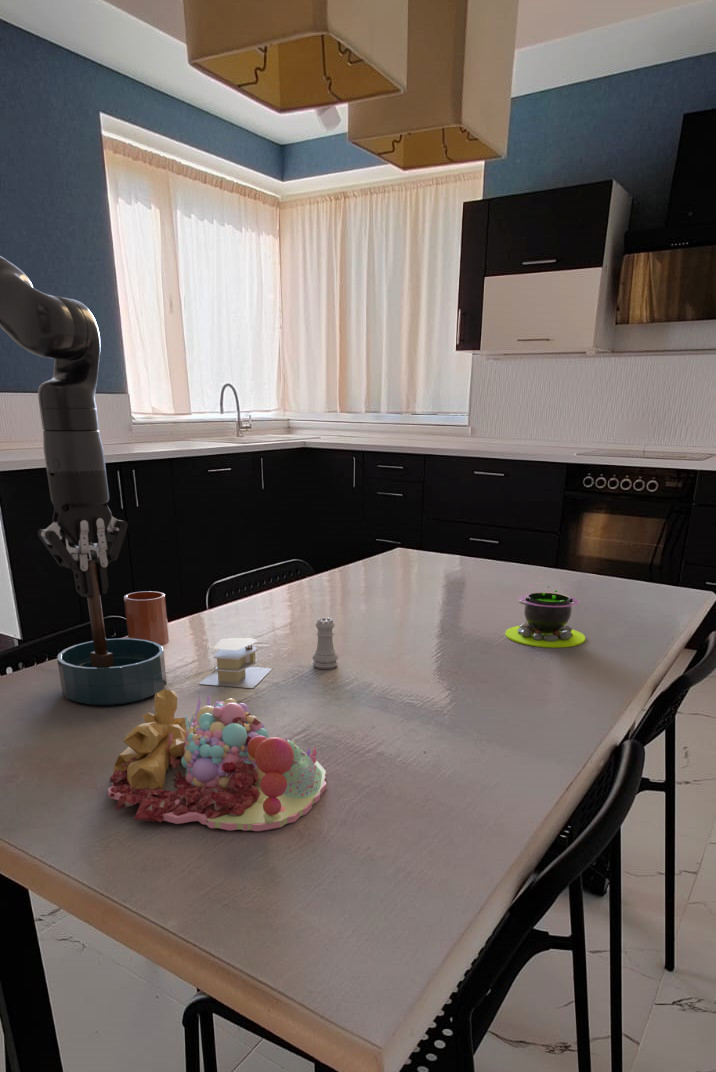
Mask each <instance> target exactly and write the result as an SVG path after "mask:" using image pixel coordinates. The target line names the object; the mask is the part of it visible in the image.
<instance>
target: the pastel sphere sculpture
mask: <svg viewBox="0 0 716 1072" xmlns="http://www.w3.org/2000/svg"><path fill="white" fill-rule="evenodd" d="M153 696H154V713H151V712H147V713H143V714H141V715H142V718H143V720H144V723H141V724H139V725H137V726H134V727H133V728H132V730H130V731H129V733H128V734H127V735H126V736H125V738H124V740H122V741H123V743H125V745H127V746H128V747H127V748H126V749H124V750H123V751H122V752H121V753H120V754H119V755H118V756H117V759H116V761H115V762H114V766H113V773H112V775H110V779H109V783H111V786H110V787H108V788H107V795H108V796H107V798H110V799H113V800H115V801H118V802H117V804H116V807H115V812H116V811H119V810H123V809H124V808H125V809H126V808H128V807H129V808H130V807H132V806H134V805H137V804H138V805H139V806H138V808H137V811H136V813H135V815H134V818H133V820H136V821H137V820H138V821H147V822H155V823H156V822H157V823H162V822H168V823H173V824H176V825H179V824H180V825H181V824H185V823H190V822H199V823H200V824H201V825H206V826H207V827H208V828H210V829H221V830H226V831H236V830H241V831H254V832H262V831H269V830H274V829H279V828H283V827H284V826H285V825H288V824H292V823H295V822H297V820H298V819H300V817H302V816H306V815H307V814H308V813H309V812H310V811H311V810H312V809H313V805H314V804H317V803H318V802H319V801H320V800H321V796H322V794H324V792H325V791H326V790H327V782H326V780H327V771H326V770H325V768H324V767H323V765H321V763H320V762H319V761H318V760H317V755H318V752H317V750H316V747H317V746H314V747H313V749H312V753H311V747H310V746H309V747H308V748H307V751H306V752H305V750H304V749H302V748H301V747H300V746H299V744H297V742H296V741H295V740H294V739H292V740H291V739H289V738H287V737H286V738H285V739H283V738H282V737H279V736H270V737H269V734H268V733H269V732H268V730H267V729H266V728H265V724H264V723H263V722H262V721H260V720H259V718H258V717H257V716H255V715H252V714H251V713H249V712H250V707H249V705H247V704H246V703H243V702H241V703H237V701H236V699H234V698H226V699H225V700H224V701H220V699H219V697H217V701H216V702H215V703H214V704H211V694H208V695H207V697H206V705H204V706H203V707H201V697H200V695H199V696H198V699H197V702H196V710H195V713H194V714H193V715H192V717H191V719H190V721H188V716H187V715H186V714H184V717H176V718H175V713H176V712H177V709H178V695H177V692H176V691H174V690H171V689H166V688H164V689H163V690H161V691H160V692H158V693H156V694H155V695H153Z"/></svg>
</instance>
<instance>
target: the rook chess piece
mask: <svg viewBox="0 0 716 1072" xmlns="http://www.w3.org/2000/svg"><path fill="white" fill-rule="evenodd" d="M316 621H317V622H316V623H315V625H314V626H315V627H316V628H317V633H316V635H317V644H316V649H315V651H314V654H313V655H312V663H311V664H312V666H313V667H314V668H316V669H318V670H332V669H335V668H337V666H338V665H339V661H338V660H339V656H338V654H337V653H336V650H335V648H334V641H333V636H334V632H333V629H334V627H336V625H335V623H334V619H333V618H331V617H327V620H326V617H322V618H321V617H318V618H317V619H316Z"/></svg>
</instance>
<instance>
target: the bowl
mask: <svg viewBox="0 0 716 1072" xmlns="http://www.w3.org/2000/svg"><path fill="white" fill-rule="evenodd" d="M106 643H107V651H108V652H110V653H113V660H114V667H105V668H99V667H92V663H91V656H90V652H94V651H95V650H94V643H93V640H91V641H86V642H85V641H84V642H82V643H78V644H74V645H72V646H69V647H67V648H64V649H62V650H61V651H60V652H59V653H58V654H57V658H56V660H57V661H56V662H57V666H58V674H59V679H60V686H61V693H62V695H63V696H64V697H66V699H68V700H70V701H73V702H77V703H81V704H85V705H93V706H118V705H126V704H130V703H135V702H140V701H142V700H145V699H149V698H150V697H152V696H155V694H156V693H158V692H160V691H162V690H164V689H165V687H166V686H167V684H168V682H167V671H166V661H165V651H164V647H163V645H159V644H158V643H155V642H152V641H148V640H141V639H129V638H128V637H127V638H120V637H119V638H106Z"/></svg>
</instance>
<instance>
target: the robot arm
mask: <svg viewBox="0 0 716 1072" xmlns="http://www.w3.org/2000/svg"><path fill="white" fill-rule="evenodd" d="M0 329H2V330H3V331H4V332H5V333H6V334H7V335H8V336H9V337H10V338H11V339H12V341H14V342H15V343H16V344H17V345H18V346H20V347H21V348H22V349H24V350H25V351H27V352H29V353H30V354H33V355H35V356H38V357H41V358H45V359H53V360H54V363H53V374H52V378H51V379H49V380H46V381H44V382H42V383H41V384H40V385H39V386H38V390H37V396H38V397H37V398H38V406H39V407H38V408H39V414H40V421H41V427H42V434H43V435H42V437H43V438H42V439H43V441H42V443H43V455H44V462H45V468H46V475H47V481H48V482H47V483H48V488H49V489H48V490H49V496H50V502H51V503H52V506H53V515H52V523H51V524H49V525H48V526H47V527H46V528H44V529H43V528H39V529H38V531H37V536H38V538H39V539H40V540H41V542H42V543H43V545H44V547H46V549H47V551H48V552H49V553H50V555H51V556H52V558H53V559H54V560H55V562H56V563H57V564H58V566H59V567H61V568H66V569H71V570H72V572H73V578H74V585H75V591H76V592H77V594H79V596H80V597H82V598H88V597H92V596H93V592H92V584H91V577H90V571H88V570H87V569H88V557H89V559H90V560H93V561H94V562H95V563H96V567H97V574H98V582H99V590H100V596H101V595H105V594H107V593H108V590H109V587H110V586H109V579H108V570H107V567H108V565H109V564H110V563H111V562H116V561H117V560H118V558H119V555H120V552H121V548H122V545H123V543H124V540H125V537H126V533H127V530H128V528H129V523H128V522H127V521H126V520H121V519H119V518H116V517H114V516H113V514H112V511H111V509H110V508H109V504H108V502H109V501H110V493H109V492H110V491H109V484H108V477H107V475H108V474H107V469H106V468H107V467H106V460H105V459H106V458H105V452H104V451H105V449H104V446H103V441H102V438H101V432H100V425H99V418H98V410H97V403H96V392H97V391H96V389H97V385H98V384H97V383H98V376H99V369H100V368H99V366H100V356H101V336H100V331H99V326H98V324H97V321H96V318H95V317H94V315H93V313H92V312H91V310H90V309H89V308H88V307H87V305H85V304H84V303H83V302H81V301H79V300H77V299H74V298H69V297H63V296H58V295H52V294H47V293H44V292H43V291H40V290H39V289H36V288H35V287H34V286H33V284H32V282H31V280H30V278H29V277H28V275H26V273H25V272H24V271H23V270H21V268H19V267H18V266H17V265H15V264H14V263H12V262H10V261H9V260H7V259H6V258H5V257H3V256H1V255H0ZM63 537H64V538H65V544H64V543H63V541H62V540H63Z"/></svg>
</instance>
